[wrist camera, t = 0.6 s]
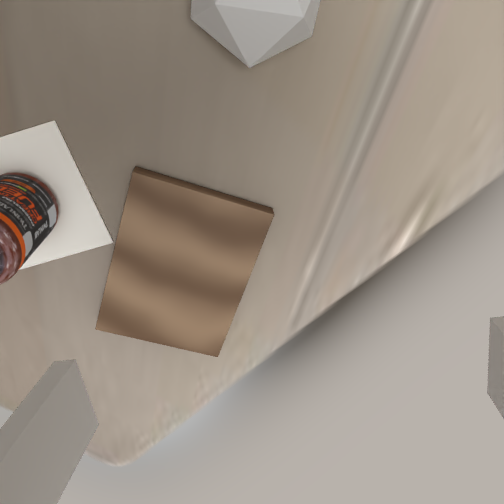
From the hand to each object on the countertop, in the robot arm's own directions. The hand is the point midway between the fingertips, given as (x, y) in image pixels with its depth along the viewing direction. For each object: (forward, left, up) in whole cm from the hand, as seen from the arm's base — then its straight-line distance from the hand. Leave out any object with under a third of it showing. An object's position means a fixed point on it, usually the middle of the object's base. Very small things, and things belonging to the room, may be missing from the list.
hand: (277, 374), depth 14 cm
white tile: (+9, -16, -25) cm, 31 cm away
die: (-12, -3, -26) cm, 28 cm away
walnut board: (+11, -2, -25) cm, 28 cm away
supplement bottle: (+9, -16, -25) cm, 31 cm away
